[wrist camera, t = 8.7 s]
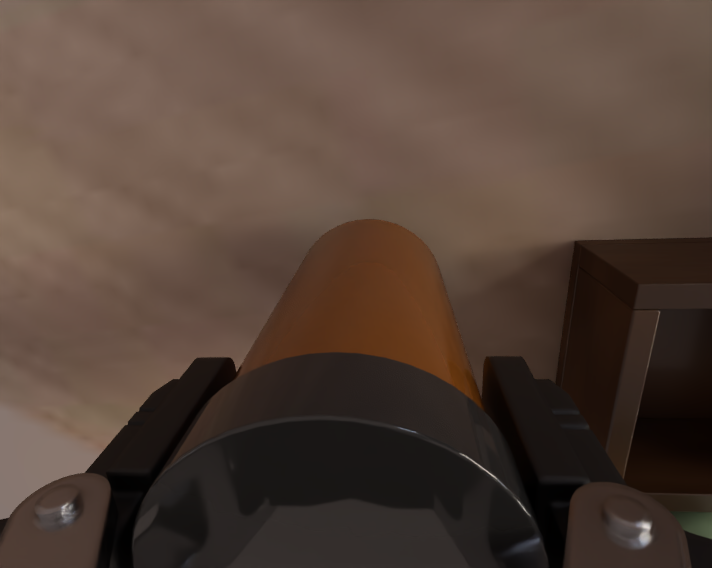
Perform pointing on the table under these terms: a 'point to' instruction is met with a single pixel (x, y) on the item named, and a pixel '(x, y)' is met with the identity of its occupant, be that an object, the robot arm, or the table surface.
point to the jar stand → (645, 361)
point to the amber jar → (346, 434)
